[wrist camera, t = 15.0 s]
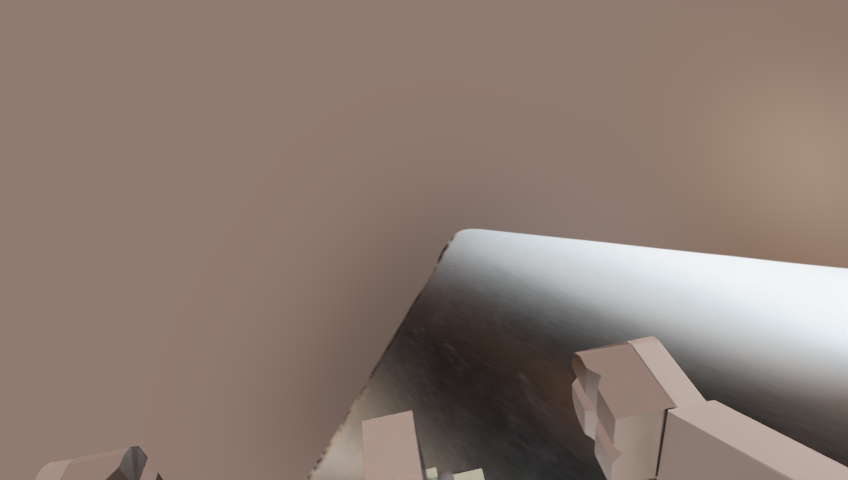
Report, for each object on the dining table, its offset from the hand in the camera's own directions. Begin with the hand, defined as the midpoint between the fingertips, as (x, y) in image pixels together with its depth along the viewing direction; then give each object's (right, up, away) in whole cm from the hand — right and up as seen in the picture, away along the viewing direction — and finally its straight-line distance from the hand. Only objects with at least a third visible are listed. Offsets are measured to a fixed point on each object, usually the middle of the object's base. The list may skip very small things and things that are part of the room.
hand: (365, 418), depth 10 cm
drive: (+1, -19, +28) cm, 34 cm away
